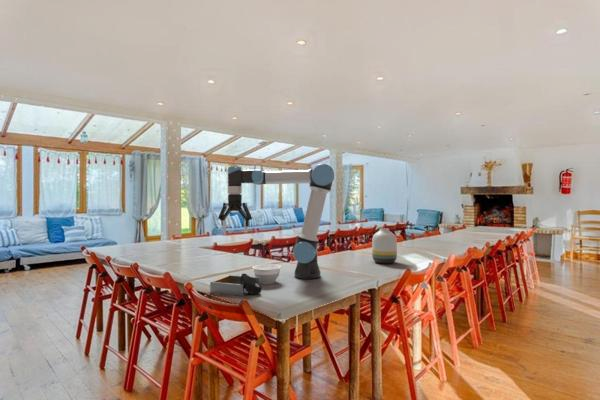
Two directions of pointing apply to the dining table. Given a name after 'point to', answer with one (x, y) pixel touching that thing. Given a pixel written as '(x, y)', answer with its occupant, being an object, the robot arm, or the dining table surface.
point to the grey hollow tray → (229, 285)
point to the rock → (250, 284)
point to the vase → (384, 246)
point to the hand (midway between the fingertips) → (235, 232)
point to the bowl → (267, 272)
